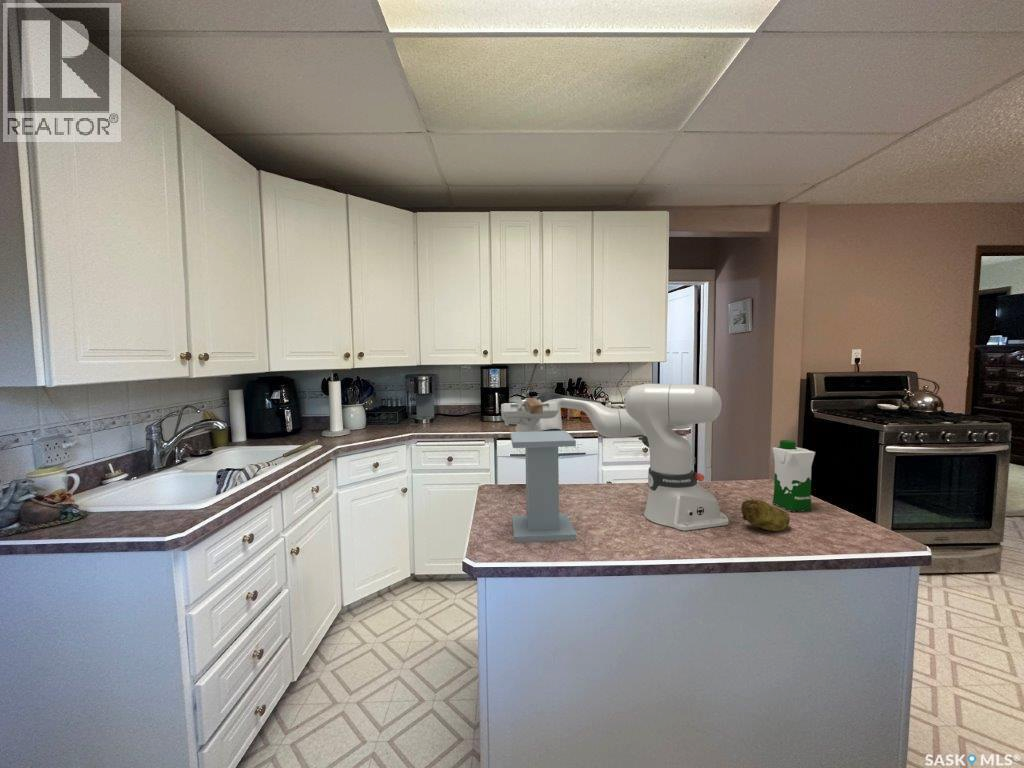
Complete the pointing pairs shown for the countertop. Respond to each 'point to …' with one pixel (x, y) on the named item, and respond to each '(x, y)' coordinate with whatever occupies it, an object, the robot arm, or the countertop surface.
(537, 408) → the block
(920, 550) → the countertop surface
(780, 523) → the potato
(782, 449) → the milk carton
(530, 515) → the stand
